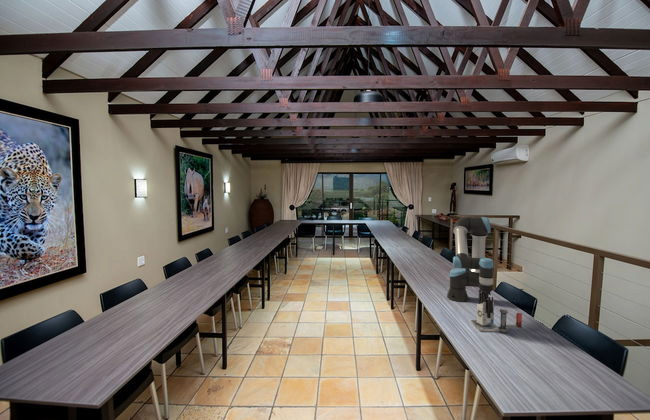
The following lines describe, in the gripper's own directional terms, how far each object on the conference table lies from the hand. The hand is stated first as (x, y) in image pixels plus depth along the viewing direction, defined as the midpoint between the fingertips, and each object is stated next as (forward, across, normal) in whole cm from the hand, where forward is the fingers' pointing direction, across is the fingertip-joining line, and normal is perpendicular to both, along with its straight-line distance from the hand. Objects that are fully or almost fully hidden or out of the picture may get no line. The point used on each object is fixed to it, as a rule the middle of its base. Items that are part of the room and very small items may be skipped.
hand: (485, 320), depth 183 cm
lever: (+2, +5, +14) cm, 15 cm away
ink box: (+2, 0, 0) cm, 2 cm away
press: (+4, +1, +2) cm, 5 cm away
